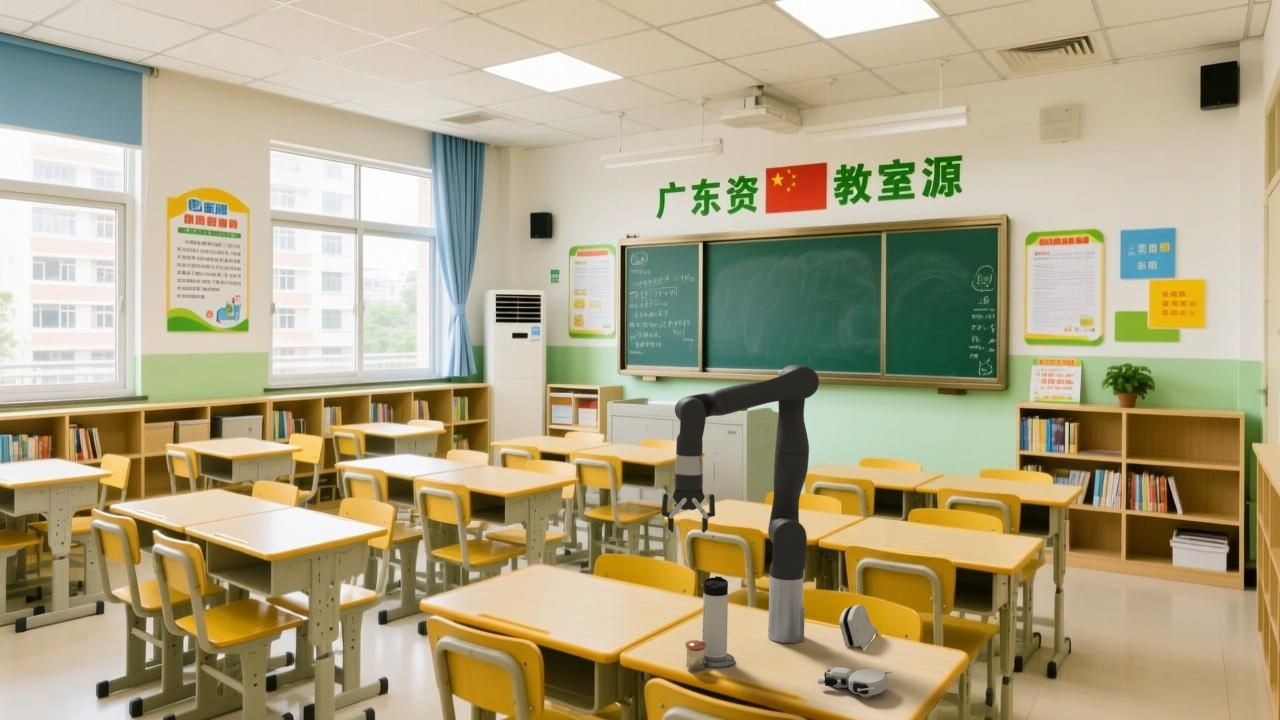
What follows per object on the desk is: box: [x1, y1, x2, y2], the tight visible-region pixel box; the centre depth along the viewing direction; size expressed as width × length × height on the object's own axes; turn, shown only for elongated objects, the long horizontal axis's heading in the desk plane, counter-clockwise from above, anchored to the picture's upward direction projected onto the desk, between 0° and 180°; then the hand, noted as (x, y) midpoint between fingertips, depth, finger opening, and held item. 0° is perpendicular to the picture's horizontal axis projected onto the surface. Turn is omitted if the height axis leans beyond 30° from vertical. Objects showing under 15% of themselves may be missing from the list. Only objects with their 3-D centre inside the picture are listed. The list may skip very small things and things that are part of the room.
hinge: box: [838, 604, 879, 650], centre depth 241 cm, size 17×5×10 cm, turn 152°
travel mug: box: [701, 575, 729, 662], centre depth 222 cm, size 6×7×20 cm
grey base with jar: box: [685, 639, 735, 671], centre depth 220 cm, size 16×10×6 cm, turn 138°
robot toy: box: [817, 665, 893, 699], centre depth 206 cm, size 12×4×15 cm
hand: (687, 531), depth 234 cm, fingers open, 8 cm apart
